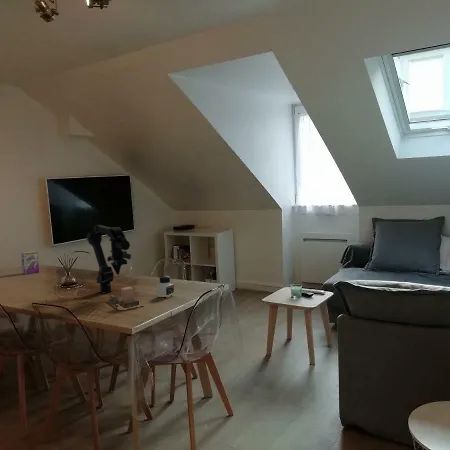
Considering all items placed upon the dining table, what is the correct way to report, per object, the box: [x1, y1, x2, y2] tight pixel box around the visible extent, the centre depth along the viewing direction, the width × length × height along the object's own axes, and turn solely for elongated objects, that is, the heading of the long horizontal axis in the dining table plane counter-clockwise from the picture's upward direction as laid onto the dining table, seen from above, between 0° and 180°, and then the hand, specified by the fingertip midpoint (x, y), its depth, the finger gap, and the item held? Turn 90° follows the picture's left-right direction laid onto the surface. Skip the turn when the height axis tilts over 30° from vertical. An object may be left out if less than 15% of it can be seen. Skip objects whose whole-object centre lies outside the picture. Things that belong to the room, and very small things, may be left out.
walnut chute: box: [105, 294, 140, 309], centre depth 256 cm, size 24×14×4 cm, turn 32°
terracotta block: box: [120, 286, 135, 303], centre depth 251 cm, size 5×5×9 cm
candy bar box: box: [20, 250, 40, 275], centre depth 349 cm, size 11×5×16 cm, turn 130°
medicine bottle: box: [156, 275, 175, 295], centre depth 268 cm, size 7×7×12 cm
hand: (117, 274), depth 273 cm, fingers closed
